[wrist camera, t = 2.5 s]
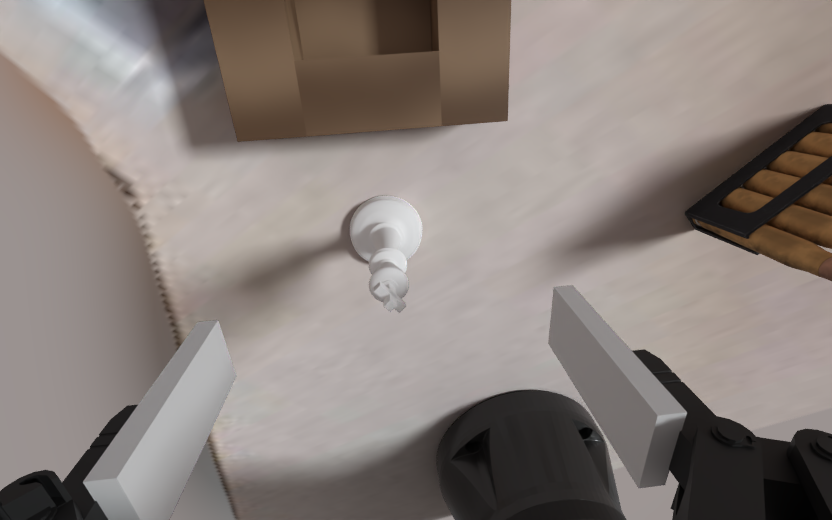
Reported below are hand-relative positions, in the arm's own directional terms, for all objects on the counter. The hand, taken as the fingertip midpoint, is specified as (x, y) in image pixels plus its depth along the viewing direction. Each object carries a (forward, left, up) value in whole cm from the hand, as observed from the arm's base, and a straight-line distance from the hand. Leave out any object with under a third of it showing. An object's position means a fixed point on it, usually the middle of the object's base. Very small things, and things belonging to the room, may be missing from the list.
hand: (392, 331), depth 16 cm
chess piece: (0, 0, -13) cm, 13 cm away
